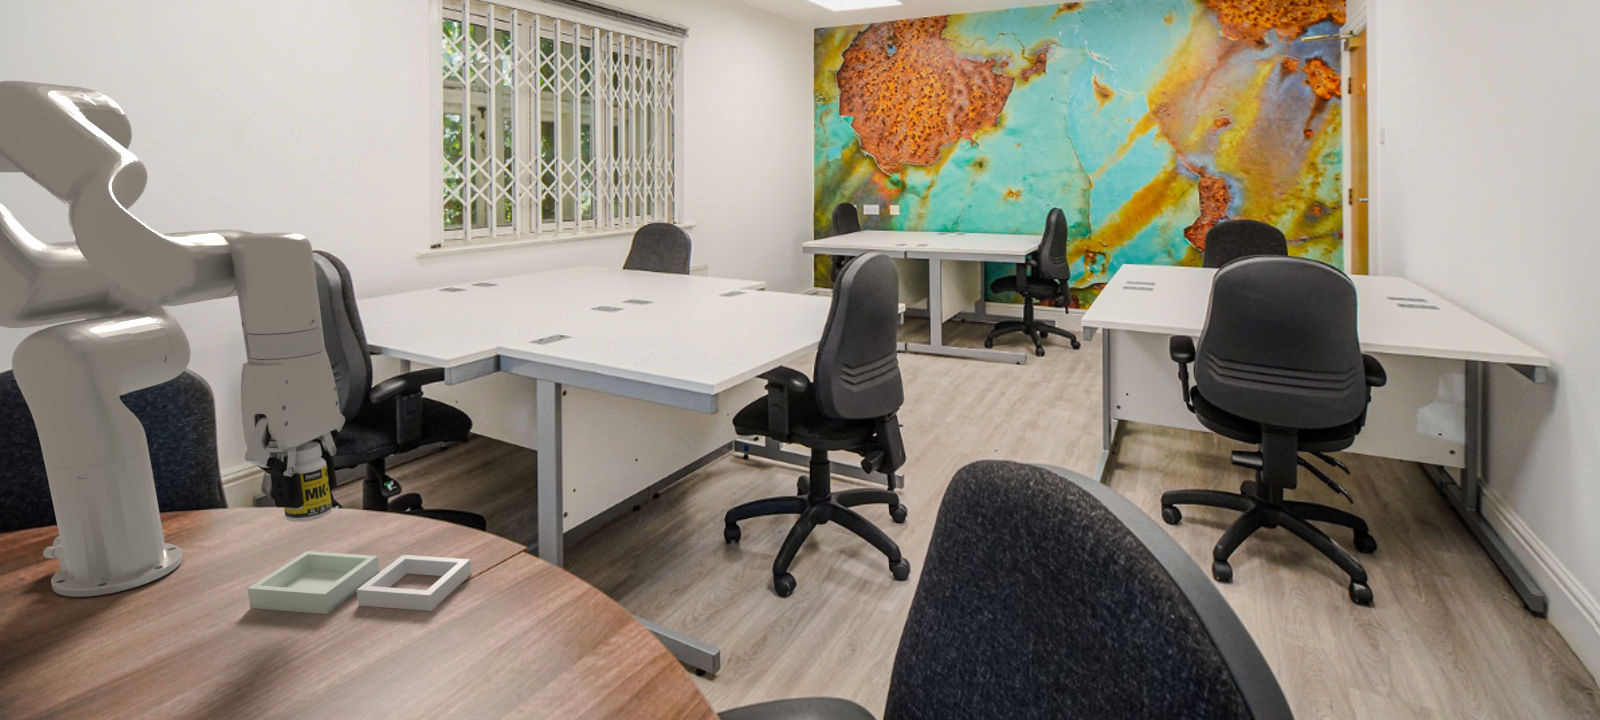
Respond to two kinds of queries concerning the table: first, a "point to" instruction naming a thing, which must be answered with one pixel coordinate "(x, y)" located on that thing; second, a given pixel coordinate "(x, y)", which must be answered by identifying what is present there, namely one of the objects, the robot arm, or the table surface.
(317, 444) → the supplement bottle
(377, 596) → the collar holder
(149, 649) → the table surface
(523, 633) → the table surface
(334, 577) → the tray
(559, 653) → the table surface
